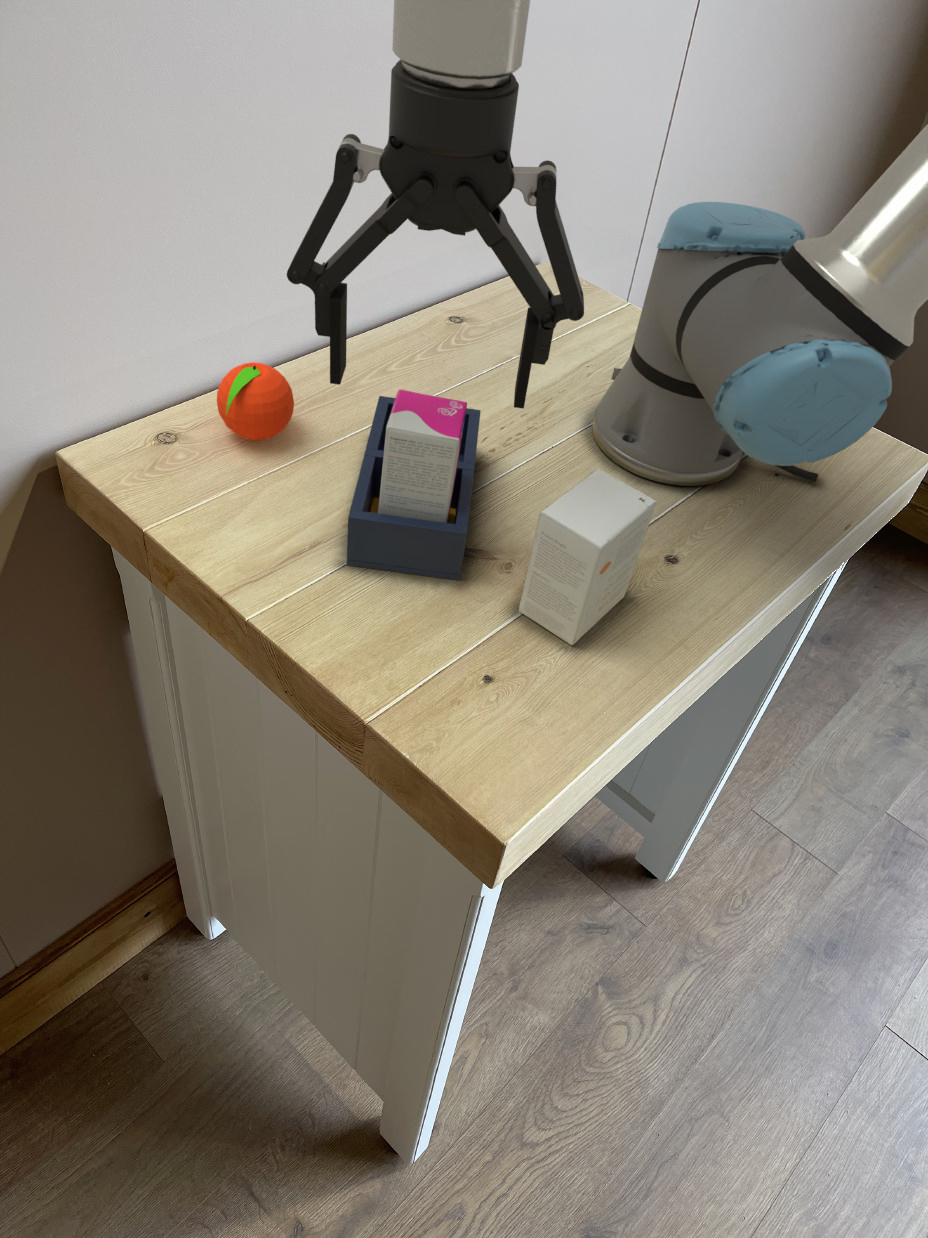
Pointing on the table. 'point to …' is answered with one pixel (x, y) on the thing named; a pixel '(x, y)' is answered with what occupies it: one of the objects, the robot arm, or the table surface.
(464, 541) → the holder
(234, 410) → the clementine
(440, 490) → the supplement box
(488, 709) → the table surface
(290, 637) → the table surface
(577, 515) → the small box
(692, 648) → the table surface
